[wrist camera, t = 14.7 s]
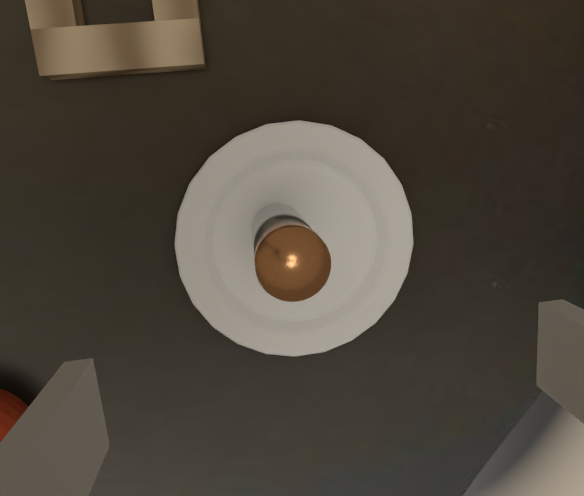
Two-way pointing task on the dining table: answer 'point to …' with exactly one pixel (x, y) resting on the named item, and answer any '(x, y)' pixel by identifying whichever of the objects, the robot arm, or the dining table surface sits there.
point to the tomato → (9, 411)
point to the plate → (318, 215)
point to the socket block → (114, 41)
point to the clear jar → (288, 254)
